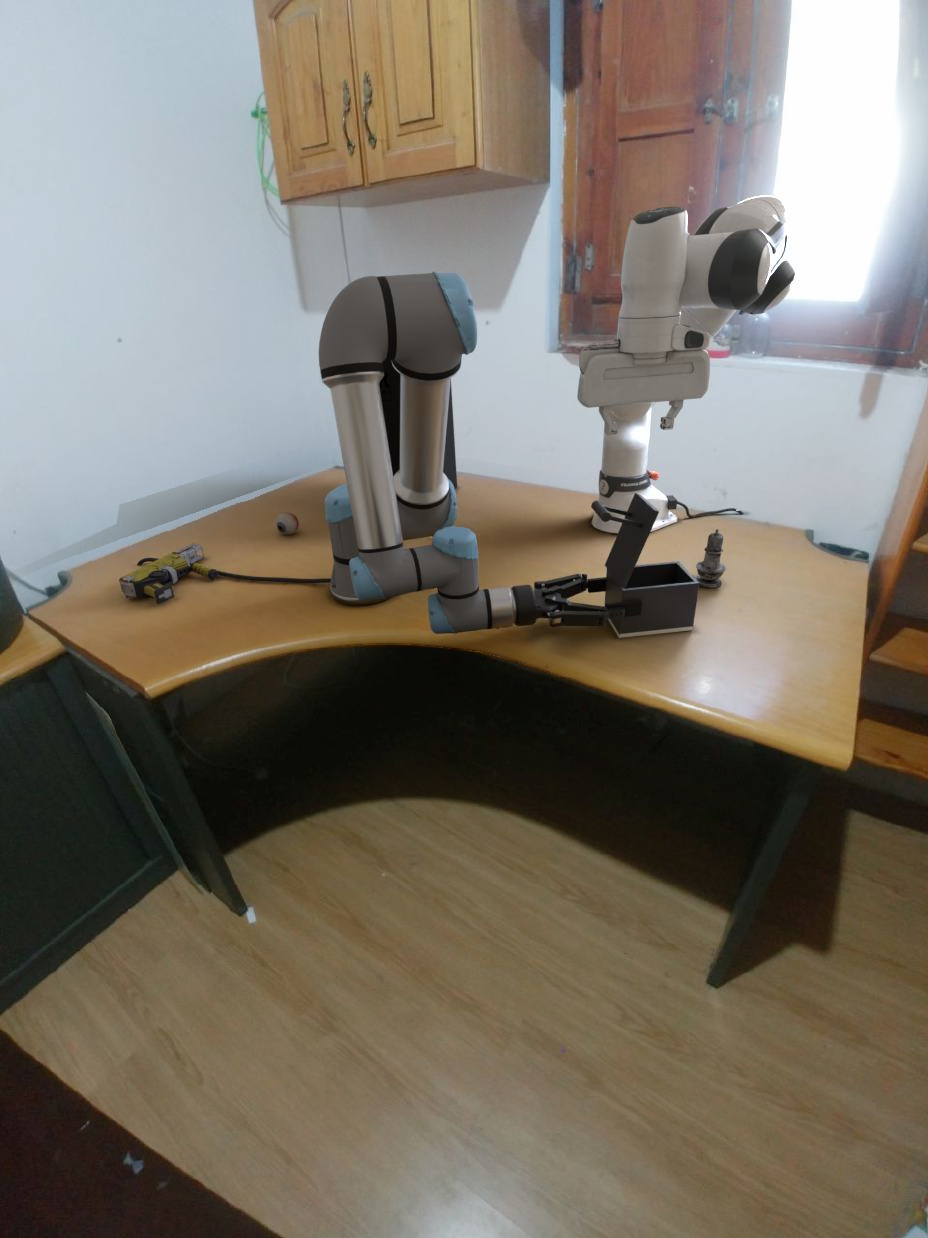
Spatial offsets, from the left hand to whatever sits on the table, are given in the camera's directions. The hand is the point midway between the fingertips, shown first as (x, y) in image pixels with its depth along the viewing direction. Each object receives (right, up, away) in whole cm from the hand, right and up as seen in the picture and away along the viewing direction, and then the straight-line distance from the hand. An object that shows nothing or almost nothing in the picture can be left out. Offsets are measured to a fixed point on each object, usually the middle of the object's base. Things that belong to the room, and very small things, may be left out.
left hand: (630, 594), depth 112 cm
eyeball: (-79, +19, +53) cm, 97 cm away
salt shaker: (+21, +3, +16) cm, 26 cm away
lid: (-1, +9, -6) cm, 11 cm away
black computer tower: (-47, +29, +67) cm, 87 cm away
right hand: (-3, +26, -15) cm, 30 cm away
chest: (+4, -5, +3) cm, 7 cm away
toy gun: (-97, +4, +30) cm, 102 cm away
